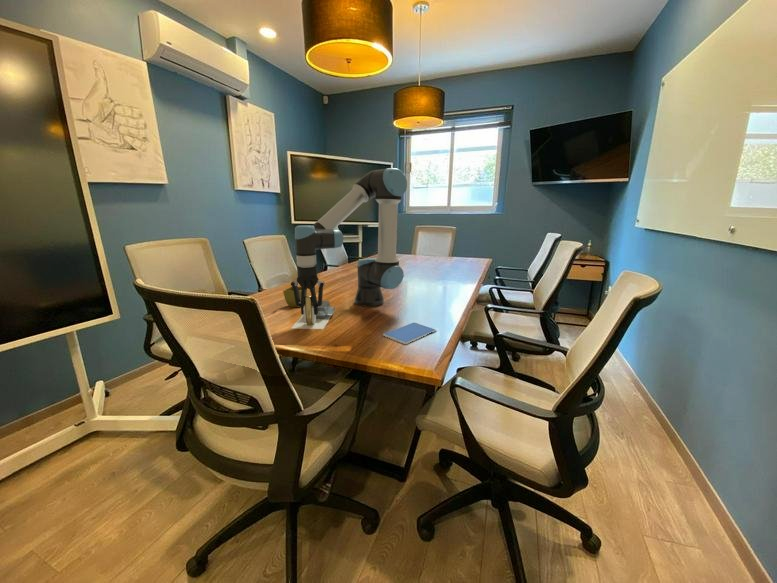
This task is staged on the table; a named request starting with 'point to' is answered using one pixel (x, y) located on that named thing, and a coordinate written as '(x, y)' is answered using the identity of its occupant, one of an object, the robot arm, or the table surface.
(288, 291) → the flower pot
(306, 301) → the brass pin
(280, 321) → the table surface
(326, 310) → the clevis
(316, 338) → the table surface
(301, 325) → the mounting plate
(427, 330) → the tablet computer
